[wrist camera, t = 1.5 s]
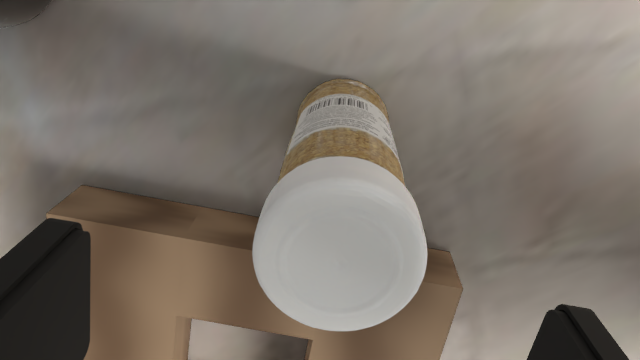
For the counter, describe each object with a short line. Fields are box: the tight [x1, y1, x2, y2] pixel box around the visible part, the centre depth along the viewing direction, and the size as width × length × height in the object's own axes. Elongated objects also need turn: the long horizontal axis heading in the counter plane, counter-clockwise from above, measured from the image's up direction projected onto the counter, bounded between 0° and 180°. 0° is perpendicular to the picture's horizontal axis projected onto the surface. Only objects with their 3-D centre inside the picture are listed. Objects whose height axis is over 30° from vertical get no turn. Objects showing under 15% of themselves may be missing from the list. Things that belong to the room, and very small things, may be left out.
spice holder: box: [46, 185, 463, 360], centre depth 29 cm, size 20×16×4 cm
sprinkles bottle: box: [252, 79, 428, 331], centre depth 19 cm, size 5×5×14 cm
